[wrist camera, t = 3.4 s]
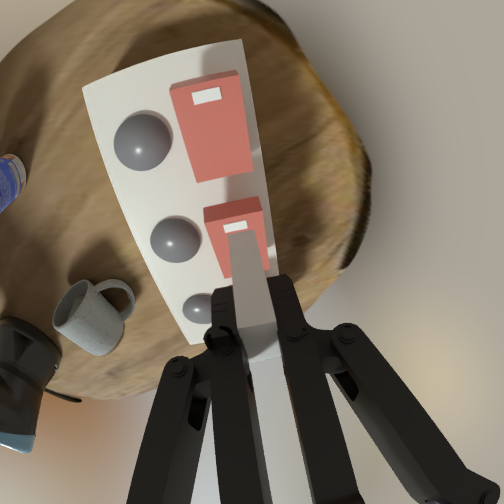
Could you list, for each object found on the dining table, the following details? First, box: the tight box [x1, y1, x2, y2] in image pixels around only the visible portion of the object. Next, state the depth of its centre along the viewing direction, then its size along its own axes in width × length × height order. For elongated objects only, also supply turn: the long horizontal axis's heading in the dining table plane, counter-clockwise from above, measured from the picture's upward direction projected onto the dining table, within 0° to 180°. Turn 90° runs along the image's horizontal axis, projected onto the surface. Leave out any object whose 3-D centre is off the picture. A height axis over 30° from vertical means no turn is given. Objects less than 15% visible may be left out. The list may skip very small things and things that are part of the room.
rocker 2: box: [203, 196, 270, 279], centre depth 21 cm, size 4×7×2 cm, turn 9°
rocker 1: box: [169, 70, 254, 183], centre depth 16 cm, size 4×7×2 cm, turn 9°
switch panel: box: [82, 39, 279, 345], centre depth 26 cm, size 12×34×6 cm, turn 9°
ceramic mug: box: [52, 279, 135, 356], centre depth 29 cm, size 11×8×8 cm
